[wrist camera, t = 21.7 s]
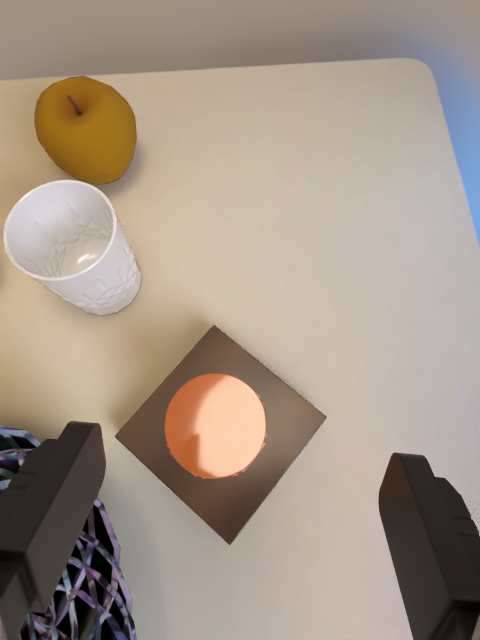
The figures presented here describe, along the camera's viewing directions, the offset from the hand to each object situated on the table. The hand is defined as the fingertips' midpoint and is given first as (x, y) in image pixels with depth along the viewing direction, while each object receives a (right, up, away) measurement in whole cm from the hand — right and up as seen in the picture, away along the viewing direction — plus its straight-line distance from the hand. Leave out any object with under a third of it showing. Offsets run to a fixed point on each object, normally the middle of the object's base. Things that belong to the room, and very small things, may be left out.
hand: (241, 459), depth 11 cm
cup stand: (-2, -5, +23) cm, 23 cm away
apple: (-14, +20, +30) cm, 39 cm away
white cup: (-13, +7, +27) cm, 30 cm away
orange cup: (-2, -5, +21) cm, 21 cm away
